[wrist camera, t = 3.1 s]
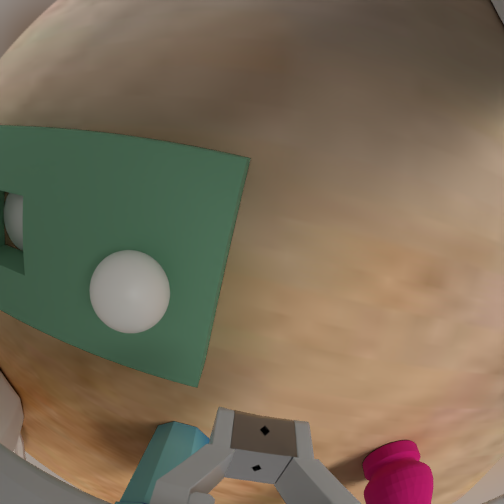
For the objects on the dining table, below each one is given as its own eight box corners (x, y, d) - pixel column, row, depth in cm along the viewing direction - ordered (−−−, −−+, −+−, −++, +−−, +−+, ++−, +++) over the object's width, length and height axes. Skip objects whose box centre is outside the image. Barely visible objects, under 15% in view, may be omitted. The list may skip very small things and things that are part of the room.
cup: (115, 377, 22) (36, 520, 8) (201, 379, 21) (151, 564, 7) (166, 466, 26) (135, 576, 12) (235, 470, 26) (220, 592, 11)
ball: (114, 232, 15) (73, 257, 11) (184, 250, 15) (158, 282, 11) (110, 297, 16) (76, 333, 12) (174, 316, 16) (151, 360, 12)
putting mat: (-22, 125, 16) (-46, 126, 13) (250, 158, 16) (246, 159, 13) (-22, 272, 20) (-42, 284, 17) (205, 359, 21) (197, 387, 18)
